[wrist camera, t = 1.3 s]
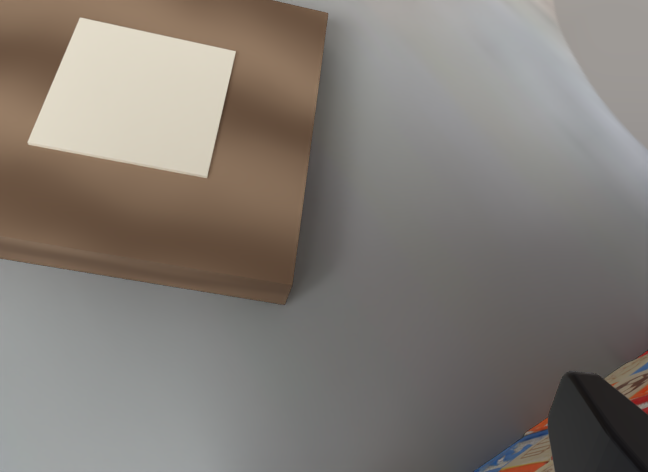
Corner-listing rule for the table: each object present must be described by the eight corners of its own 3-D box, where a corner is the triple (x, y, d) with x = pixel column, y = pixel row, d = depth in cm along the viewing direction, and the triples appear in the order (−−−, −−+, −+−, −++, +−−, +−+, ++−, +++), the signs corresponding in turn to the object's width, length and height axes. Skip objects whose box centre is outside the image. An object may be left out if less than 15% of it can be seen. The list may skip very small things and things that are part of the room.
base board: (284, 304, 23) (292, 283, 21) (-104, 241, 21) (-133, 211, 19) (320, 44, 29) (328, 10, 27) (28, -21, 28) (17, -62, 26)
